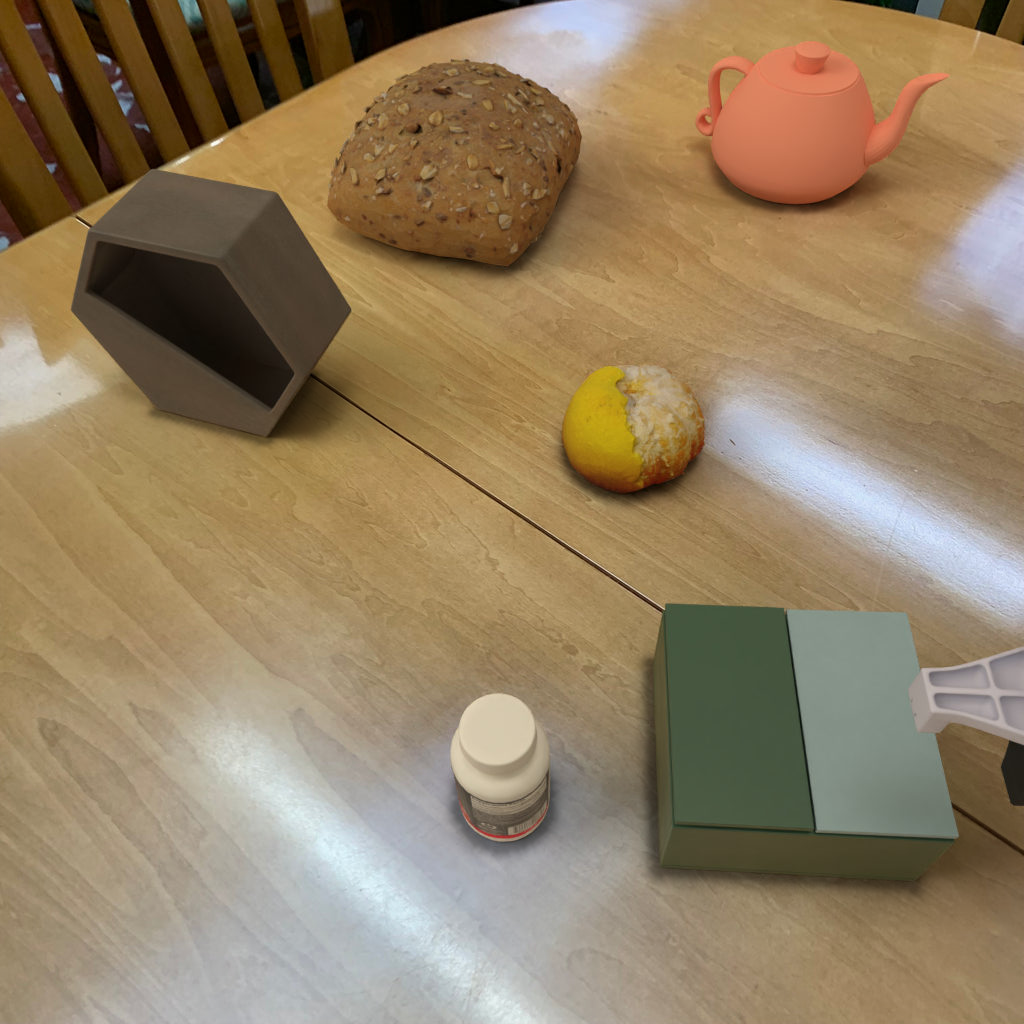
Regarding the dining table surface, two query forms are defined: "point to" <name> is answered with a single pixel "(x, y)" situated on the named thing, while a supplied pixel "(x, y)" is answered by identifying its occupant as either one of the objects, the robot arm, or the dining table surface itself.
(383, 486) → the dining table surface
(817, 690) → the hatch
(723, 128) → the teapot
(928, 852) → the seed box
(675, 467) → the fruit
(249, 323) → the planter
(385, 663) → the dining table surface
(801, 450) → the dining table surface
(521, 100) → the bread
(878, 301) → the dining table surface
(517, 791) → the pill bottle
